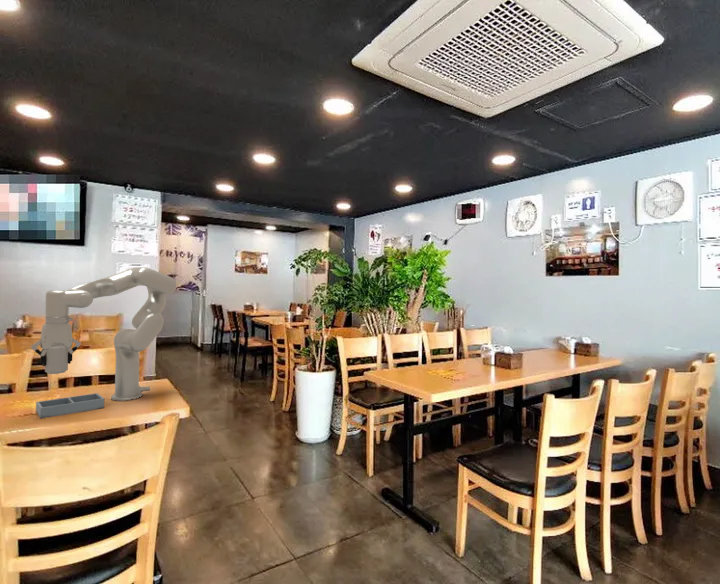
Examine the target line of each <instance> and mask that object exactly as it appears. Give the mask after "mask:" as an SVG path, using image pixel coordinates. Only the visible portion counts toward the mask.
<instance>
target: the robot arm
mask: <svg viewBox="0 0 720 584" xmlns="http://www.w3.org/2000/svg"><path fill="white" fill-rule="evenodd" d="M138 286H140V287H141V286H143V287H146V289H147V293H148V295H147V299H146V301H145V302H144V304H143V305H142V306H141V307H140V308H139V309H138V311H137V312H136V313H135V314H134V316H133V317H132V320H131V325H132V326H133V328H135V329H131V328H124V329H121V330H119V331H118V332H117V333H116V334H115V336H114V338H113V347H114V352H115V371H114V372H115V373H114V374H115V375H114V377H115V378H114V394H111V396H110V399H111V400H112V401H115V400H116V401H115V402H122V401H123V402H124V401H126V400H127V401H132V400H131V399H133V400H137V399H139V397H140V398H141V396H142V397H143V392H148V391H151V387H150V386H140V383H139V382H140V380H139V379H140V352H142V351H144V350H146V349H147V348H148V347H149V346H150V345H151V343H153V341H155V339H156V337H157V336H158V334H159V333H160V332H161V330H162V329H163V327H164V323H165V320H164V317H163V315H162V314H161V313H162V312H163V310H164V309H165V307H166V304H167V297H166V295H170V294H172V293H174V292H175V291H176V289H177V282H176V280H175V279H174V278H173V277H171V276H169V275H168V274H164V273H163V272H159V271H157V270H155V269H152V268H150V267H141V266H139V267H137V266H136V267H132V268H129V269H126V270H123V271H121V272H118V273H114V274H111V275H110V276H107V277H104V278H100V279H96V280H93V281H90V282H89V281H88V282H86V283H83V284H80V285H77V286H75V287H72V288H70V289H68V290H61V289H57V290H56V289H52V290H47V291H46V293H45V324H42V325H41V326H42V327H41V330H40V331H41V332H40V340H38V341H36V342H35V343H34V344H31V346H30V348H31V349H32V350H33V351H34V352H35V353H36V354H37V355H39V356H40V360H39V361H40V365H42V366H43V367H45V366H46V356H45V353H46V352H47V349H48V348H49V347H51V346H52V344H64V345H65V346H67V348H68V365H69V364H71V363H72V362H73V354H74V352H76V350H78V349H79V347H80V346H81V345H82V342H80V341H79V340H78V339H75V338H73V330H72V325H71V323H70V322H71V321H74V318H73V317H71V316H69V315H70V308H76V309H85V308H87V307H90V306H91V304H92V303H93V302H94V300H95V299H98V298H103V297H111V296H115V295H119V294H121V293H123V292H126V291H129V290H131V289H133V288H136V287H138ZM73 344H75V345H74V346H73ZM39 346H40V348H41V350H39V349H38V347H39ZM72 346H73V347H72ZM136 398H137V399H136ZM127 401H126V402H127Z"/></svg>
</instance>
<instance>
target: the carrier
mask: <svg viewBox="0 0 720 584" xmlns="http://www.w3.org/2000/svg"><path fill="white" fill-rule="evenodd" d="M100 409H101V410H102V409H105V398H104V396H102V395H100V394H99V393H98V392H95V393H89V394H81V395H75V396H69V397H68V396H67V397H63V398H56V399H48V400H40V401H36V402H35V412H37V413H36V414H37V415H38V417H39V419H46V417H47V418H52V416H53V417H57V416H65V415H70V414H76V413H81V412H83V413H84V412H88V411H94V410H100Z"/></svg>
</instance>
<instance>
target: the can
mask: <svg viewBox="0 0 720 584" xmlns="http://www.w3.org/2000/svg"><path fill="white" fill-rule="evenodd" d="M45 356H46V366H44V372H45V373H47V374H48V375H57V374H58V375H59V374H64V373H66V372H67V371H68V369H69V363H68V348H67V346H65V345H64V344H52V346H51V347H49V348H48V349H47V352H46V353H45Z"/></svg>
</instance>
